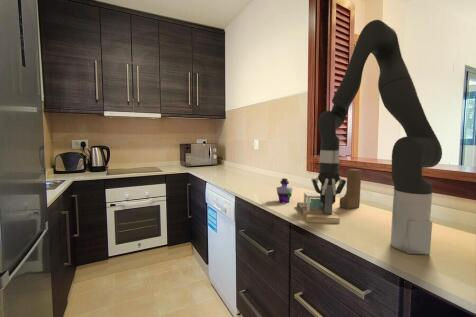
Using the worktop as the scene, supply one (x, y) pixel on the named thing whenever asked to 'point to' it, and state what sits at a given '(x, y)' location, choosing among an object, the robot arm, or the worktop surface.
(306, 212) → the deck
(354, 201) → the wooden block
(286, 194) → the potion bottle
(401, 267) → the worktop surface
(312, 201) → the block
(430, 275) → the worktop surface
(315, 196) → the cream open box
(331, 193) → the grey angular piece
